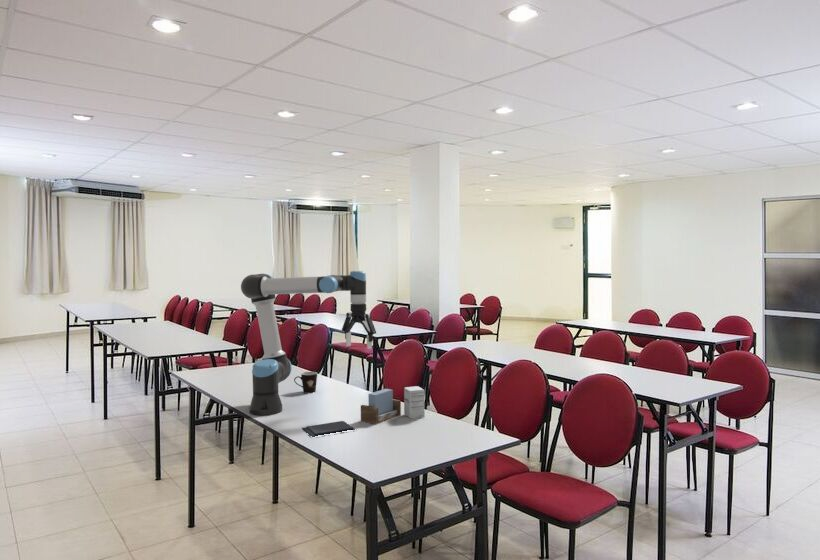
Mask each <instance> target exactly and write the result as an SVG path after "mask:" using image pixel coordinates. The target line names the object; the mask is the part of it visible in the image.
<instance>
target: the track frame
mask: <svg viewBox="0 0 820 560" xmlns="http://www.w3.org/2000/svg"><path fill="white" fill-rule="evenodd" d="M401 405H402V403H401V400H400V399H395V398H393V411H391V412H388V413H385V414H382V415H379V416H378V408H376V407H371V406H369V405H366V404H360V421H361V422H364V421H365V423H368V422H369V424H372V425H378V424H381V423H383V421H384V422H386V420H387V421H389V420H392V419H394V418H397V417H400V416H401V415H402V411H401V408H402V406H401Z"/></svg>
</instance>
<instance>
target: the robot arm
mask: <svg viewBox="0 0 820 560" xmlns="http://www.w3.org/2000/svg"><path fill="white" fill-rule="evenodd" d="M240 291H241V293H242V294H243V295H244V296H245V297H246V298H248V299H250V300H251V301H250V302H251V304H252V305H253V306H255V310H256V315H257V320H258V326H259V330H260V331H259V332H260V336H261V338H260V339H261V342H262V343H261V344H262V347H263V348H262V349H263V353H264V354H263V356H262V357H261V359H262V360H257V361H255V362H254V363H253V365H252V370H251V373H252V397H251V401H250V405H249V407H248V409H249V410H248V411H249V414H251V415H254V416H270V415H275V414H279V413H281V412H282V411H283V403H282V400H281V398H280V395H279V383H281V382H284V381H285V380H286V379H288V378H289V376H290V375H291V372H292V370H293V369H292V368H293V366H292V363H291V360H290V359H288V358H287V354H286V353H287V352H286V351H284V350H283V348H282V343H281V337H280V332H279V327H278V322H277V316H276V310H275V306H274V305H275V304H274V302H275V301H276V295H287V294H288V295H292V294H293V295H294V294H295V295H296V294H298V295H300V294H319V293H320V294H332V293H335V292H336V293H337V292H338V291H339V292H343V291H345V292H348V291H349V293H350V312H346V315H345V319H344V322H343V325H342V328H341V331H342V332H344V337H345V338H344V339H345V346H346V347H351V346H352V332H351V330H352V328H353V327H354V326H355V324H356V323H358V324H361V325H362V327H363V328H364V330H365V332H366V333H367V335H366V350H371V349H373V340H374V339H373V338H374V335H375V334H377V331H376V327H375V325H374V322H373V320H372V314H371V313H366V311H367V304H366V302H367V275H366V272H365V271H364V270H353V271H351V270H350V272H349V274H347V275H343V274H340V275H339V274H331V275H328V274H327V275H326V276H300V277H299V276H297V277H273V276H272V275H270V274H266V273H257V274H255V273H254V274H249V275H246V277H245V276H244V278H243V279H242V281H241V284H240Z"/></svg>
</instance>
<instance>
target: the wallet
mask: <svg viewBox="0 0 820 560" xmlns="http://www.w3.org/2000/svg"><path fill="white" fill-rule="evenodd" d="M347 423H348V422H346V421H345V420H339V421H332V422H328V423H327V422H326V423H321V424H314V425H308V426H307V425H306V426H305V427H301V428H302V429H303V430H304V431H305V432H306V433H308V434H309V435H310V436H312V437H315V436H318V435H324V434H330V433H336V432H342V431H347V430H355V429H356V428H355V427H353V426H351V424H349V423H348V424H347ZM302 429H301V430H302ZM303 430H302V431H303ZM304 431H303V432H304ZM305 432H304V433H305ZM306 433H305V434H306ZM309 435H308V436H309ZM310 436H309V437H310Z"/></svg>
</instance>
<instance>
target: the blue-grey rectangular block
mask: <svg viewBox="0 0 820 560" xmlns="http://www.w3.org/2000/svg"><path fill="white" fill-rule="evenodd" d="M393 392H394V390H393V389H390V388H384V389H381V390H377V391H373V392H371V393H368V406H371V407H376V408H378V416H379V415H382V414H385V413H388V412H391V411H393V399H394V393H393Z"/></svg>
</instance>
